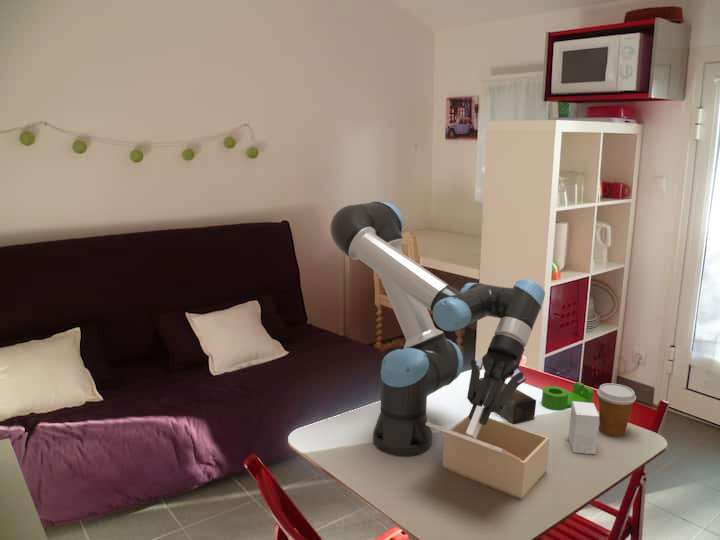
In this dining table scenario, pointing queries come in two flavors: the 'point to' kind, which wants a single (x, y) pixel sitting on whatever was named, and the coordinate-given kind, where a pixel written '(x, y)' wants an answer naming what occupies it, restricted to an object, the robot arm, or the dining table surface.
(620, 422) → the disposable coffee cup
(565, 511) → the dining table surface
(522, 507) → the dining table surface
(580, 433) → the small box
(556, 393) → the tape dispenser
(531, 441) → the light wood open box
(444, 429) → the light wood flat panel
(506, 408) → the dark brown wooden block
